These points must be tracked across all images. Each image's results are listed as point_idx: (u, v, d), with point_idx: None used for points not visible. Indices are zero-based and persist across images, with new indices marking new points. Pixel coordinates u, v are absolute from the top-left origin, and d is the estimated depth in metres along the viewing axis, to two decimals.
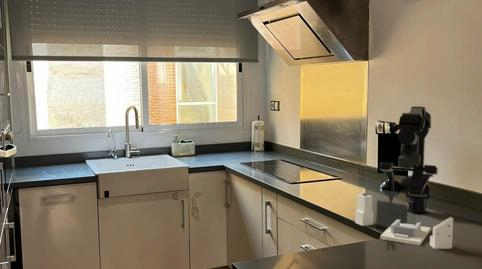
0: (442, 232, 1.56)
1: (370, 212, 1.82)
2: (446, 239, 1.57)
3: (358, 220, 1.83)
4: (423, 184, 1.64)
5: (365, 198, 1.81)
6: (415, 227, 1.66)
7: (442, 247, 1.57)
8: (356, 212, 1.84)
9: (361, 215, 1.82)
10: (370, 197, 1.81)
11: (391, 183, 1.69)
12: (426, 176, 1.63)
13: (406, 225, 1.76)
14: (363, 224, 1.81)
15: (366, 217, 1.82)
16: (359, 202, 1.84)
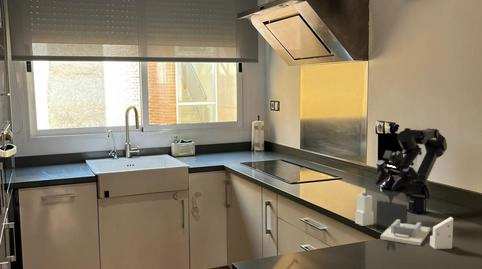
0: (442, 232, 1.56)
1: (370, 212, 1.82)
2: (446, 239, 1.57)
3: (358, 220, 1.83)
4: (397, 180, 1.82)
5: (365, 198, 1.81)
6: (415, 227, 1.66)
7: (442, 247, 1.57)
8: (356, 212, 1.84)
9: (361, 215, 1.82)
10: (370, 197, 1.81)
11: (378, 177, 1.91)
12: (401, 173, 1.81)
13: (406, 225, 1.76)
14: (363, 224, 1.81)
15: (366, 217, 1.82)
16: (359, 202, 1.84)
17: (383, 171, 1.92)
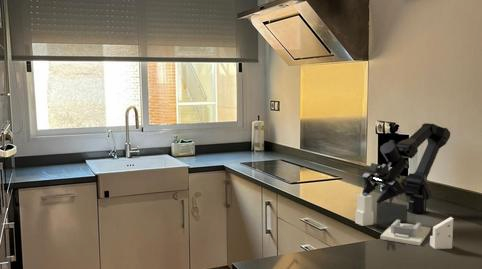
0: (442, 232, 1.56)
1: (370, 212, 1.82)
2: (446, 239, 1.57)
3: (358, 220, 1.83)
4: (382, 194, 1.79)
5: (365, 198, 1.81)
6: (415, 227, 1.66)
7: (442, 247, 1.57)
8: (357, 212, 1.84)
9: (361, 215, 1.82)
10: (370, 197, 1.81)
11: (364, 189, 1.89)
12: (386, 187, 1.79)
13: (406, 225, 1.76)
14: (363, 224, 1.81)
15: (366, 217, 1.82)
16: (359, 202, 1.84)
17: (369, 184, 1.90)
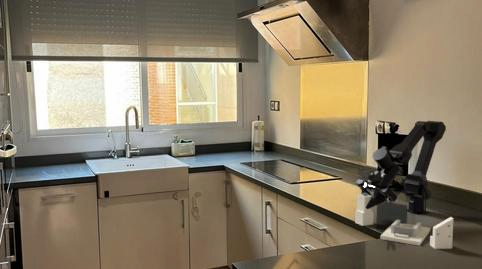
0: (442, 232, 1.56)
1: (370, 212, 1.82)
2: (446, 239, 1.57)
3: (358, 220, 1.83)
4: (371, 200, 1.81)
5: (365, 198, 1.81)
6: (415, 227, 1.66)
7: (442, 247, 1.57)
8: (356, 212, 1.84)
9: (361, 215, 1.82)
10: (370, 197, 1.81)
11: None
12: (375, 192, 1.80)
13: (406, 225, 1.76)
14: (363, 224, 1.81)
15: (366, 217, 1.82)
16: (359, 202, 1.84)
17: (366, 192, 1.87)
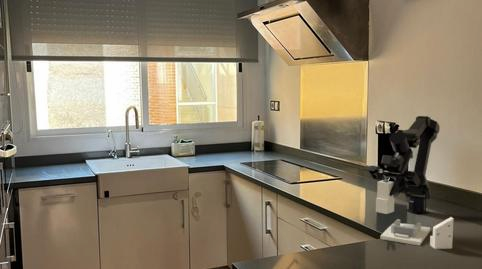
0: (442, 232, 1.56)
1: (392, 199, 1.74)
2: (446, 239, 1.57)
3: (380, 208, 1.74)
4: (394, 186, 1.73)
5: (389, 184, 1.72)
6: (415, 227, 1.66)
7: (442, 247, 1.57)
8: (378, 200, 1.74)
9: (384, 203, 1.73)
10: (392, 183, 1.73)
11: None
12: (399, 178, 1.72)
13: (406, 225, 1.76)
14: (387, 212, 1.73)
15: (389, 204, 1.73)
16: (380, 189, 1.74)
17: (383, 178, 1.78)
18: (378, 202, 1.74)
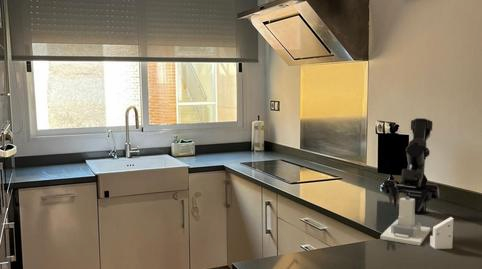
0: (442, 232, 1.56)
1: (413, 216, 1.70)
2: (446, 239, 1.57)
3: None
4: (421, 200, 1.68)
5: (412, 202, 1.68)
6: (415, 227, 1.66)
7: (442, 247, 1.57)
8: (401, 219, 1.69)
9: (408, 221, 1.68)
10: (414, 200, 1.69)
11: (394, 199, 1.72)
12: (425, 192, 1.68)
13: None
14: None
15: (412, 222, 1.69)
16: (403, 207, 1.69)
17: (397, 192, 1.74)
18: (401, 220, 1.69)
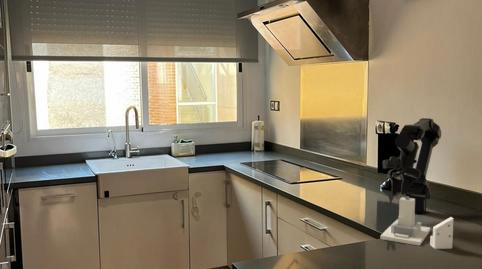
0: (442, 232, 1.56)
1: (413, 216, 1.70)
2: (446, 239, 1.57)
3: None
4: (402, 184, 1.78)
5: (412, 202, 1.68)
6: (415, 227, 1.66)
7: (442, 247, 1.57)
8: (401, 219, 1.69)
9: (408, 221, 1.68)
10: (414, 200, 1.69)
11: (392, 187, 1.89)
12: (401, 176, 1.78)
13: None
14: None
15: (412, 222, 1.69)
16: (403, 207, 1.69)
17: (394, 180, 1.89)
18: (401, 220, 1.69)
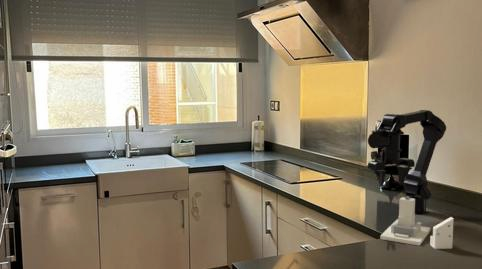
0: (442, 232, 1.56)
1: (413, 216, 1.70)
2: (446, 239, 1.57)
3: None
4: None
5: (412, 202, 1.68)
6: (415, 227, 1.66)
7: (442, 247, 1.57)
8: (401, 219, 1.69)
9: (408, 221, 1.68)
10: (414, 200, 1.69)
11: None
12: None
13: None
14: None
15: (412, 222, 1.69)
16: (403, 207, 1.69)
17: (399, 169, 1.92)
18: (401, 220, 1.69)
